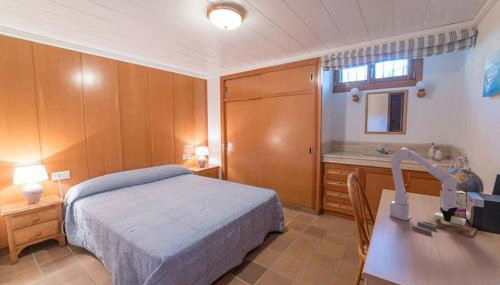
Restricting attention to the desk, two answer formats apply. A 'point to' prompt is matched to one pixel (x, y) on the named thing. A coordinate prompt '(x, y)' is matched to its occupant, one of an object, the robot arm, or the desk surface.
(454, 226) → the peg stand
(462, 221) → the shelf board
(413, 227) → the battens
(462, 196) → the candy bar box
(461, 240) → the desk surface
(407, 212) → the robot arm
